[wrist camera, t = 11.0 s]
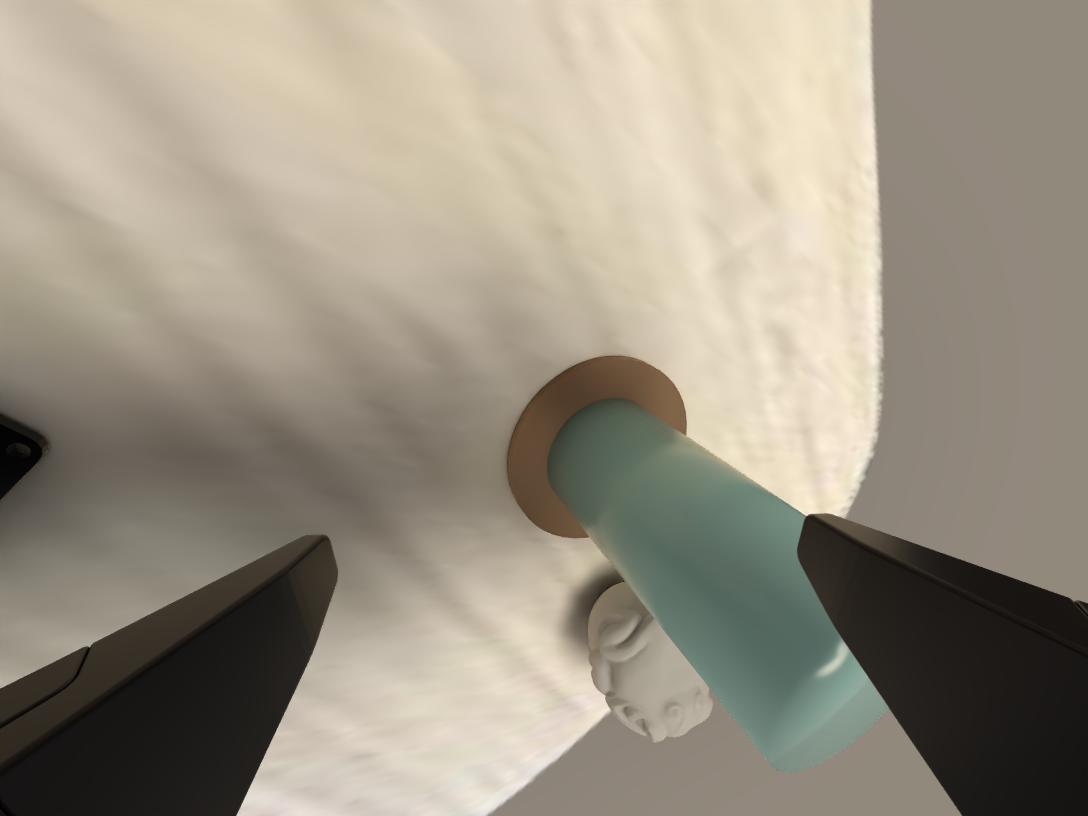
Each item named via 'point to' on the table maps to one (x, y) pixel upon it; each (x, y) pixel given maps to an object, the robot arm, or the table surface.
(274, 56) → the table surface
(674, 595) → the teal round cylinder
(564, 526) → the coaster
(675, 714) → the white sculpted piece
